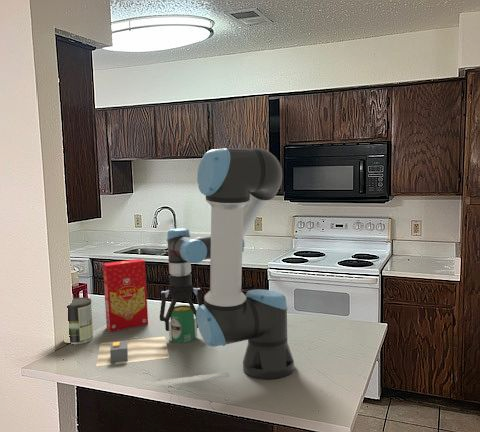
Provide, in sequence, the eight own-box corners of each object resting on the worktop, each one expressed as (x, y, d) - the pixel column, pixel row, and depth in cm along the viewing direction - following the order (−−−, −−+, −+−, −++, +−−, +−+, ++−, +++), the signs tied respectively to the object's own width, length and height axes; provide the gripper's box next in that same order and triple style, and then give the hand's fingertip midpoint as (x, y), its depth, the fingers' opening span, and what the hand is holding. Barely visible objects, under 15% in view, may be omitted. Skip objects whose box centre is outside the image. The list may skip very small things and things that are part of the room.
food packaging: (110, 331, 180) (106, 265, 178) (106, 327, 185) (102, 263, 182) (148, 324, 187) (144, 260, 185) (143, 320, 192) (140, 258, 189)
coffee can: (64, 346, 166) (61, 306, 164) (62, 337, 175) (60, 299, 174) (95, 341, 170) (92, 302, 169) (92, 332, 179) (89, 295, 178)
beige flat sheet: (169, 361, 150) (169, 357, 150) (96, 370, 145) (96, 366, 145) (165, 339, 169) (164, 336, 169) (100, 346, 165) (100, 343, 165)
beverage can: (166, 342, 166) (165, 308, 165) (183, 336, 172) (182, 303, 171) (182, 347, 161) (181, 312, 160) (199, 340, 167) (198, 307, 166)
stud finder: (127, 360, 149) (126, 346, 148) (110, 362, 147) (110, 348, 147) (127, 352, 155) (127, 338, 155) (111, 354, 154) (111, 340, 154)
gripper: (208, 269, 170) (211, 331, 173) (148, 273, 166) (152, 337, 168) (212, 273, 163) (214, 338, 165) (149, 278, 159) (153, 345, 161)
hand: (183, 338), depth 167 cm, fingers closed on beverage can, 8 cm apart
